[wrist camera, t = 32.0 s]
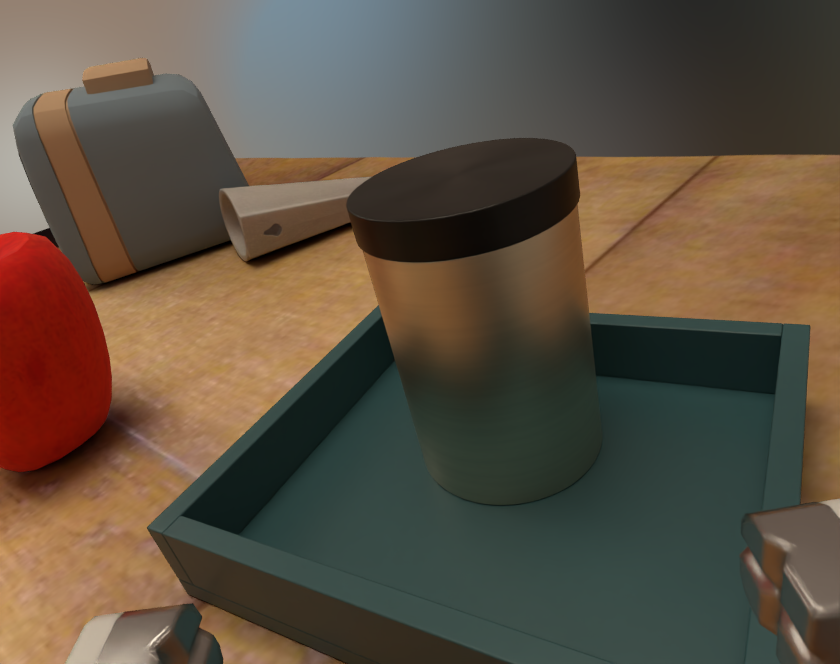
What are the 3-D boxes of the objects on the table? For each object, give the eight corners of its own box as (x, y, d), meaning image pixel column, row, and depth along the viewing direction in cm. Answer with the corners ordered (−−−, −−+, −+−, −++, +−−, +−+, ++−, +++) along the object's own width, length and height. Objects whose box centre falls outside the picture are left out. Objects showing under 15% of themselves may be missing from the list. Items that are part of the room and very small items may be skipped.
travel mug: (647, 436, 22) (629, 147, 17) (494, 543, 19) (421, 241, 14) (521, 365, 27) (480, 131, 22) (390, 442, 25) (311, 197, 20)
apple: (95, 499, 27) (-51, 280, 22) (-71, 519, 29) (-245, 319, 24) (178, 382, 35) (84, 197, 30) (43, 402, 36) (-69, 231, 31)
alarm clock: (97, 244, 65) (15, 86, 57) (249, 195, 68) (190, 39, 61) (79, 298, 51) (-32, 100, 43) (270, 233, 55) (198, 38, 47)
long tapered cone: (418, 131, 57) (212, 180, 50) (456, 146, 53) (236, 202, 45) (422, 191, 60) (229, 245, 53) (459, 210, 56) (253, 272, 48)
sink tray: (803, 401, 23) (810, 324, 21) (775, 850, 12) (785, 765, 11) (398, 357, 32) (381, 300, 30) (187, 594, 21) (145, 527, 20)
